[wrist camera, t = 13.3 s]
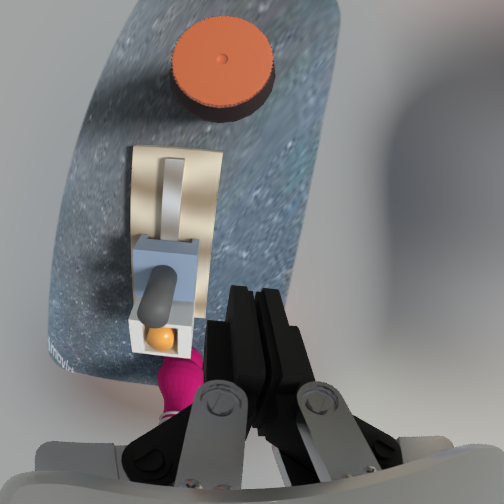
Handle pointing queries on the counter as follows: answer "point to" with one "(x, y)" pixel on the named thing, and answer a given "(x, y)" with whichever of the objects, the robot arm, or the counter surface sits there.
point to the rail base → (176, 202)
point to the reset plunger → (161, 338)
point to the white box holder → (178, 319)
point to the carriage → (163, 277)
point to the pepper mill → (179, 382)
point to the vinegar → (222, 69)
